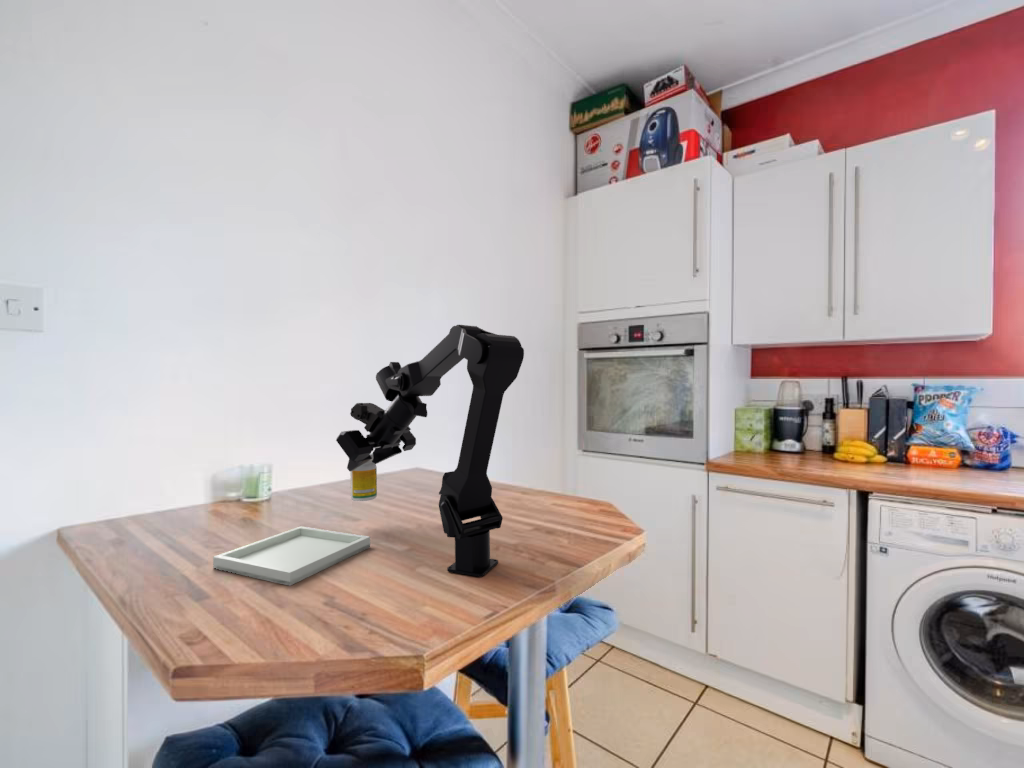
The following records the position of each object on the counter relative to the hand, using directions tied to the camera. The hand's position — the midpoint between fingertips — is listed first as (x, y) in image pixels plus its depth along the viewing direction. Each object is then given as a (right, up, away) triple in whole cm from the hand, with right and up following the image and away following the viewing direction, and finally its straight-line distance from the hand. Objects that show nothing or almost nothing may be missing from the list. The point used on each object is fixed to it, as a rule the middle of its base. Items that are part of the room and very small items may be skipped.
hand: (358, 467), depth 98 cm
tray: (-6, -13, -17) cm, 22 cm away
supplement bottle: (+1, -7, -1) cm, 7 cm away
